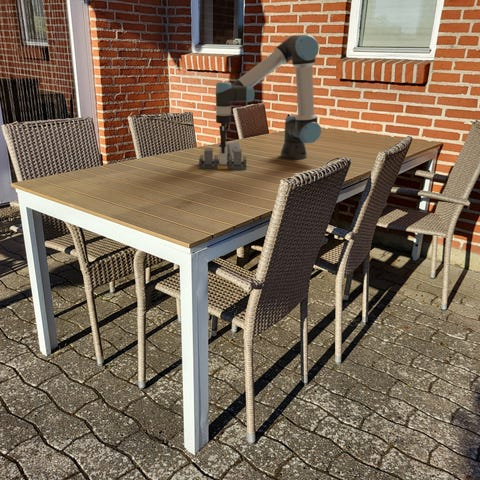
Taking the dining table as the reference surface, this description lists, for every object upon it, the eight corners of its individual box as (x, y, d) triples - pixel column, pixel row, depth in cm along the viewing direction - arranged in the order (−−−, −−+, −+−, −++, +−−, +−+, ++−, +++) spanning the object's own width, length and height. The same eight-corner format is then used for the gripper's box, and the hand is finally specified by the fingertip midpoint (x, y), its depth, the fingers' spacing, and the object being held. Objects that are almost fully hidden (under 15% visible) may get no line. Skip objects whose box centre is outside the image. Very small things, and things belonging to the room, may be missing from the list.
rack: (245, 164, 255) (246, 147, 251) (246, 170, 242) (246, 152, 239) (200, 163, 254) (200, 146, 251) (198, 169, 242) (198, 151, 238)
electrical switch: (231, 160, 263) (230, 143, 260) (224, 159, 266) (223, 143, 263) (242, 157, 270) (241, 141, 267) (235, 157, 273) (234, 141, 270)
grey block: (227, 163, 252) (227, 146, 249) (227, 166, 244) (227, 149, 241) (219, 163, 252) (219, 146, 248) (219, 166, 244) (219, 149, 241)
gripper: (217, 111, 250) (217, 151, 258) (214, 117, 227) (215, 161, 235) (231, 111, 250) (231, 151, 258) (230, 118, 227) (230, 162, 235)
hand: (223, 156), depth 247 cm, fingers open, 13 cm apart
